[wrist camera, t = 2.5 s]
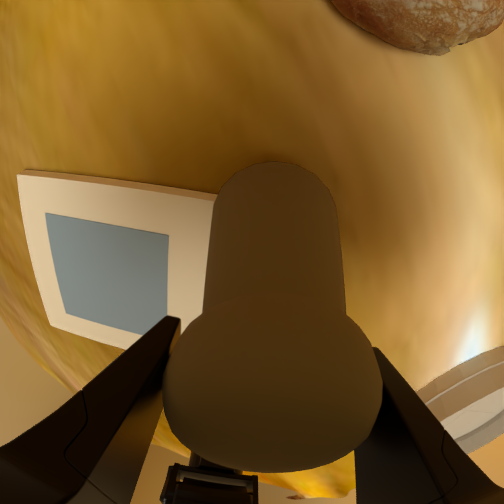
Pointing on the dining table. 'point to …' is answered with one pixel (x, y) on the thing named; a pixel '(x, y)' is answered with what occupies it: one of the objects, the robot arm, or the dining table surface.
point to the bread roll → (425, 21)
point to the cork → (273, 334)
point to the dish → (470, 400)
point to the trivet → (115, 252)
